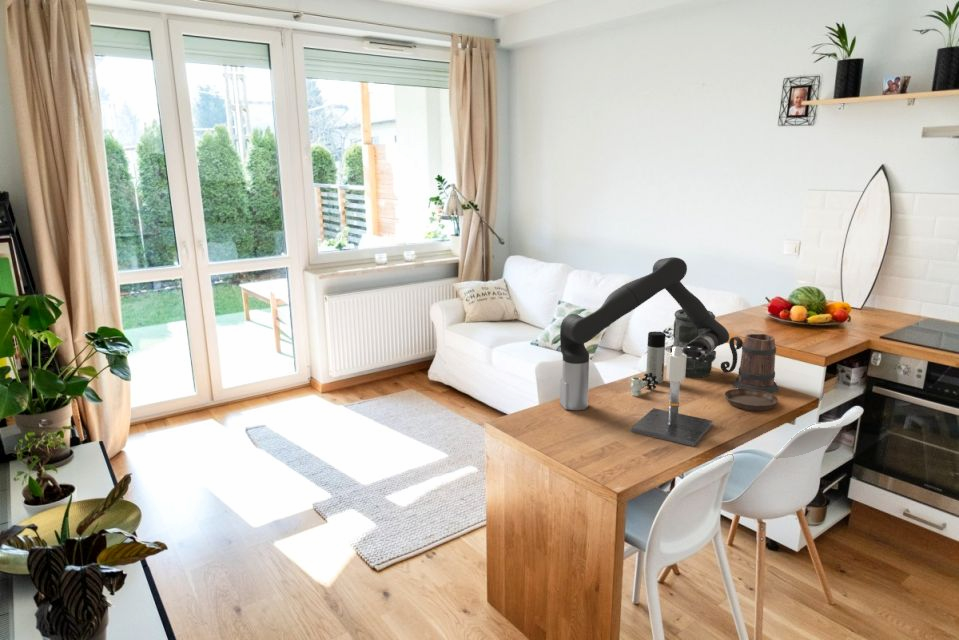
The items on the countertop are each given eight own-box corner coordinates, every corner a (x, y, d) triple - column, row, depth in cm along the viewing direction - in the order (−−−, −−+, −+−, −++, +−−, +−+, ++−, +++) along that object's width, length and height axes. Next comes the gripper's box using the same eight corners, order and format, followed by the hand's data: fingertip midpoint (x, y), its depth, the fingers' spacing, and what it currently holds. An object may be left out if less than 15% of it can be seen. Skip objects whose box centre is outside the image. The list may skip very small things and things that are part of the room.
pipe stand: (694, 446, 185) (700, 360, 178) (631, 431, 196) (634, 349, 190) (712, 424, 200) (718, 344, 194) (653, 412, 212) (657, 335, 205)
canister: (718, 372, 252) (723, 307, 246) (697, 381, 243) (702, 312, 236) (684, 364, 264) (689, 301, 258) (663, 371, 255) (667, 306, 248)
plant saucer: (713, 399, 224) (713, 391, 223) (750, 392, 230) (751, 385, 229) (749, 416, 208) (750, 408, 207) (788, 409, 214) (789, 400, 213)
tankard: (788, 387, 234) (793, 337, 229) (763, 396, 225) (768, 344, 220) (733, 372, 253) (737, 325, 248) (708, 380, 244) (712, 332, 239)
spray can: (665, 384, 240) (668, 335, 235) (647, 384, 240) (650, 335, 235) (660, 378, 246) (663, 330, 242) (643, 378, 246) (646, 331, 242)
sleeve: (681, 382, 191) (682, 358, 189) (664, 379, 194) (665, 355, 192) (686, 377, 195) (688, 353, 193) (669, 374, 198) (671, 351, 196)
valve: (639, 398, 225) (657, 391, 233) (640, 381, 224) (658, 374, 231) (624, 394, 230) (643, 386, 238) (625, 377, 228) (643, 370, 236)
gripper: (681, 334, 218) (665, 344, 205) (722, 340, 210) (709, 351, 197) (679, 354, 219) (664, 366, 207) (720, 361, 211) (707, 373, 198)
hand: (686, 358), depth 202 cm, fingers open, 8 cm apart
